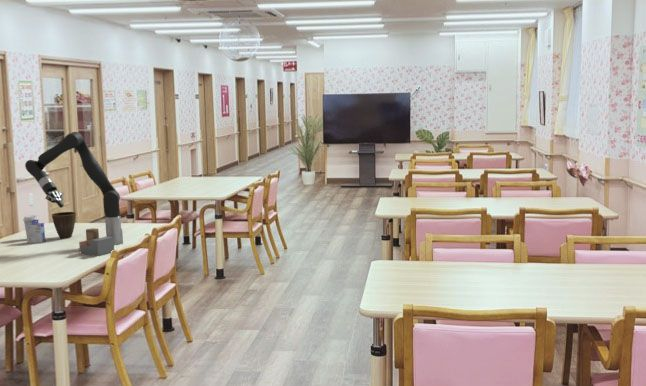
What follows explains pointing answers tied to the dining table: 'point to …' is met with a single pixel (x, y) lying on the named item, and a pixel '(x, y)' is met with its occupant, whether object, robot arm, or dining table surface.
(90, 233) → the walnut block
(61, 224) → the plant pot
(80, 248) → the dock tray
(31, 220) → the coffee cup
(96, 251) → the block
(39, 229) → the ink cartridge box
